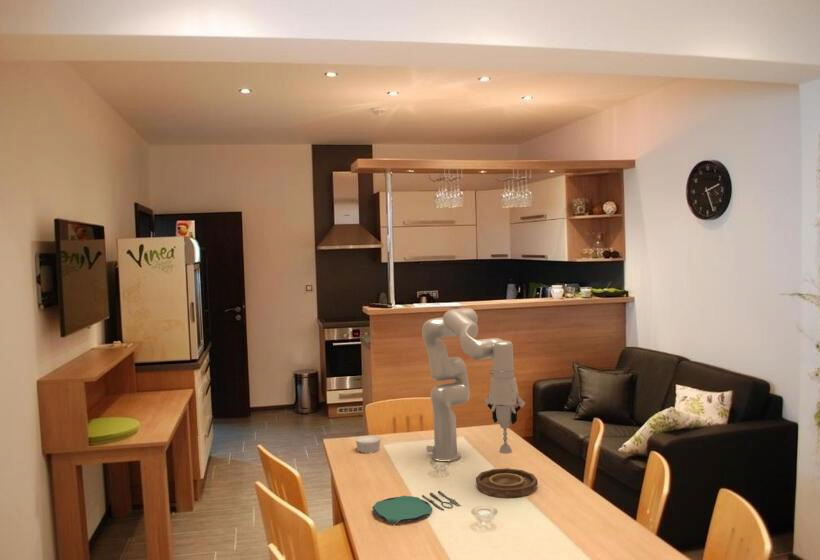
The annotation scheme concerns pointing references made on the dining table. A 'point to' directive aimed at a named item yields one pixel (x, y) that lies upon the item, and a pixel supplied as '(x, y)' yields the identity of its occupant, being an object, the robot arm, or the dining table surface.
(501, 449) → the chalice
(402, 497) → the cutlery set
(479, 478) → the tray
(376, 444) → the ramekin
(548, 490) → the dining table surface
